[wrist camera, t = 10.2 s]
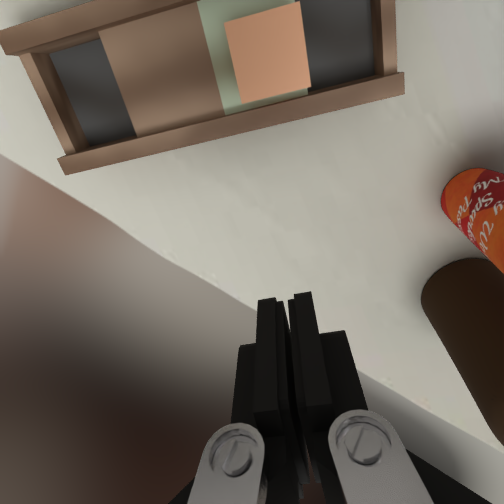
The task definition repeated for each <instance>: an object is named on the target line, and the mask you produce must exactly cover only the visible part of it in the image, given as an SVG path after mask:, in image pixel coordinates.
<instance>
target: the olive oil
mask: <svg viewBox="0 0 504 504" xmlns="http://www.w3.org/2000/svg"><path fill="white" fill-rule="evenodd" d="M421 303H422V307H423V310H424V312H425V314H426V316H427V317H428V319H429V321H430V322H431V324H432V326H433V328H434V329H435V331H436V333H437V334H438V336H439V338H440V339H441V341H442V343H443V345H444V346H445V348H446V350H447V352H448V353H449V355H450V357H451V359H452V361H453V362H454V364H455V366H456V368H457V369H458V371H459V373H460V375H461V377H462V378H463V380H464V382H465V384H466V386H467V387H468V389H469V391H470V393H471V395H472V397H473V398H474V400H475V402H476V404H477V406H478V408H479V409H480V411H481V413H482V415H483V417H484V419H485V420H486V422H487V424H488V426H489V428H490V429H491V431H492V432H493V434H494V435H495V437H496V438H497V439H498V440H499V441H500V443H501V444H502V445H503V446H504V274H503V273H502V272H501V271H500V270H499V269H498V268H497V267H496V266H495V265H494V264H493V263H492V262H491V261H488V260H484V259H465V260H460V261H457V262H454V263H452V264H449V265H447V266H445V267H444V268H442V269H441V270H439V271H438V272H437V273H435V274H434V275H433V276H432V277H431V278H430V280H429V281H428V282H427V284H426V285H425V287H424V290H423V292H422V297H421Z"/></svg>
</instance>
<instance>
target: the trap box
mask: <svg viewBox="0 0 504 504" xmlns="http://www.w3.org/2000/svg"><path fill="white" fill-rule="evenodd" d="M298 1H300V7H301V14H302V22H303V29H304V37H305V44H306V51H307V59H308V66H309V74H310V81H311V87H308V88H304V89H300V90H296V91H292V92H288V93H284V94H280V95H276V96H272V97H268V98H264V99H260V100H256V101H252V102H248V103H244V104H242V102H241V98H240V94H239V89H238V85H237V80H236V76H235V71H234V67H233V62H232V58H231V53H230V49H229V44H228V40H227V36H226V31H225V27H224V22H228V21H231V20H235V19H238V18H242V17H245V16H249V15H252V14H256V13H259V12H263V11H266V10H270V9H273V8H277V7H280V6H284V5H287V4H291V3H294V2H298ZM0 44H1V46H2V48H3V50H4V52H5V54H6V55H14V56H19V57H20V59H21V62H22V64H23V66H24V68H25V70H26V72H27V74H28V76H29V78H30V80H31V82H32V85H33V87H34V89H35V91H36V93H37V95H38V97H39V99H40V101H41V103H42V105H43V108H44V110H45V112H46V114H47V116H48V118H49V120H50V122H51V124H52V126H53V129H54V131H55V133H56V135H57V137H58V139H59V141H60V143H61V145H62V147H63V149H64V152H65V154H66V155H65V156H63V157H60V158H58V159H57V160H58V162H59V164H60V166H61V168H62V170H63V172H64V174H65V175H69V174H73V173H78V172H82V171H86V170H90V169H94V168H98V167H103V166H107V165H111V164H115V163H119V162H123V161H128V160H132V159H136V158H140V157H144V156H148V155H153V154H157V153H161V152H165V151H169V150H173V149H178V148H182V147H186V146H190V145H194V144H198V143H203V142H207V141H211V140H215V139H219V138H223V137H228V136H232V135H236V134H240V133H244V132H248V131H253V130H257V129H261V128H265V127H269V126H273V125H278V124H282V123H286V122H290V121H294V120H298V119H303V118H307V117H311V116H315V115H319V114H323V113H328V112H332V111H336V110H340V109H344V108H348V107H353V106H357V105H361V104H365V103H369V102H373V101H378V100H382V99H386V98H390V97H394V96H398V95H403V94H405V88H404V72H397V45H396V14H395V0H94V1H91V2H88V3H84V4H81V5H78V6H75V7H72V8H69V9H66V10H63V11H59V12H56V13H53V14H50V15H47V16H44V17H41V18H38V19H34V20H31V21H28V22H25V23H22V24H19V25H16V26H13V27H9V28H6V29H3V30H0Z"/></svg>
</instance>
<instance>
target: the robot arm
mask: <svg viewBox="0 0 504 504" xmlns="http://www.w3.org/2000/svg"><path fill="white" fill-rule="evenodd" d="M288 308H289V320H290V329H289V325H288V320H287V316H286V312H285V307H284V303H283V301H278V302H277V301H276V298H275V297H274V298H268V299H262V300H258V308H257V329H256V343H253V344H246V345H241V346H240V347H239V352H238V362H237V370H236V379H235V388H234V398H233V408H232V416H231V424H230V425H228V426H225V427H223V428H221V429H220V430H219V431H217V432H216V433H215V434H214V435H213V436H212V437H211V439H210V440H209V441H208V443H207V445H206V447H205V449H204V452H203V455H202V458H201V461H200V464H199V468H198V471H197V474H196V477H195V478H194V479H193V480H192V481H191V482H190V483H189V484H188V485H187V486H186V487H185V488H184V489H183V490H181V491H180V493H178V495H176V497H175V498H174V499H173V500H171V501H170V503H168V504H300V500H299V499H300V498H304V497H303V484H307V483H310V478H309V468H308V458H307V449H308V453H309V457H310V461H311V465H312V468H313V472H314V476H315V480H316V483H320V482H321V484H322V488H323V492H324V496H325V499H326V504H492V503H490V502H489V501H487V500H485V499H484V498H482V497H481V496H479V495H478V494H476V493H474V492H473V491H471V490H470V489H468V488H467V487H465V486H463V485H462V484H460V483H458V482H457V481H455V480H454V479H452V478H451V477H449V476H448V475H446V474H444V473H443V472H441V471H440V470H438V469H437V468H435V467H433V466H432V465H430V464H429V463H427V462H426V461H424V460H422V459H421V458H419V457H418V456H416V455H414V454H413V453H411V452H410V451H408V450H407V449H405V448H404V446H403V444H402V442H401V440H400V438H399V436H398V435H397V433H396V431H395V430H394V428H393V427H392V425H391V424H390V423H389V422H388V421H386V419H384V418H383V417H382V416H381V415H378V414H376V413H374V412H371V411H368V408H367V405H366V401H365V397H364V394H363V390H362V387H361V384H360V380H359V377H358V373H357V370H356V367H355V363H354V360H353V356H352V353H351V350H350V346H349V343H348V339H347V336H346V333H345V331H344V330H342V331H335V332H328V333H321V334H319V331H318V325H317V320H316V315H315V310H314V304H313V299H312V294H311V291H310V292H304V293H298V294H294V299H290V300H288ZM306 445H307V447H306Z"/></svg>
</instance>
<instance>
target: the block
mask: <svg viewBox="0 0 504 504" xmlns="http://www.w3.org/2000/svg"><path fill="white" fill-rule="evenodd" d="M224 27H225V31H226V36H227V40H228V44H229V49H230V53H231V58H232V62H233V67H234V71H235V76H236V80H237V85H238V89H239V94H240V98H241V102H242V104H244V103H248V102H252V101H256V100H260V99H264V98H268V97H272V96H276V95H280V94H284V93H288V92H292V91H296V90H300V89H304V88H308V87H311V81H310V74H309V66H308V59H307V51H306V44H305V37H304V29H303V22H302V14H301V7H300V1H298V2H294V3H291V4H287V5H284V6H280V7H277V8H273V9H270V10H266V11H263V12H259V13H256V14H252V15H249V16H245V17H242V18H238V19H235V20H231V21H228V22H224Z"/></svg>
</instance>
